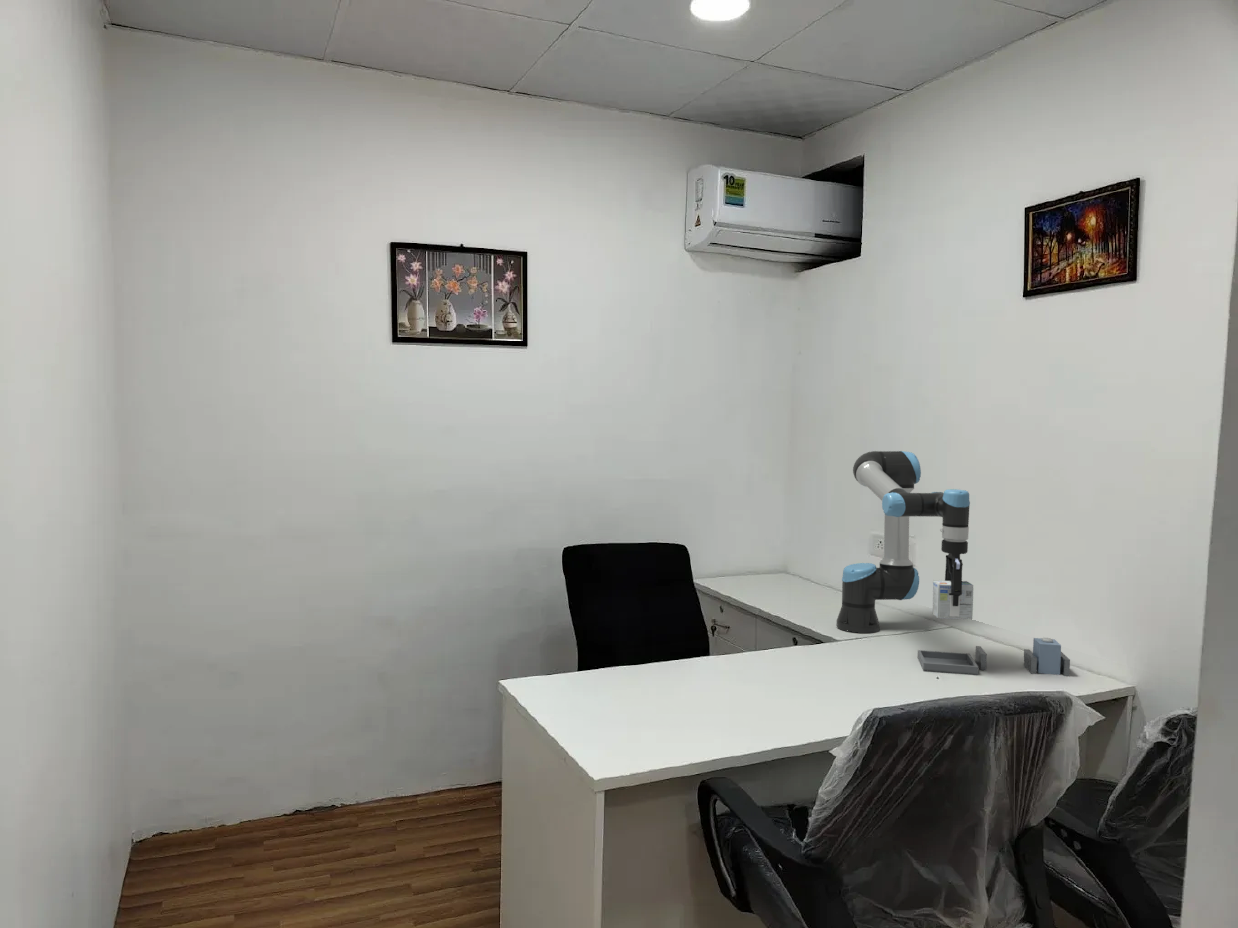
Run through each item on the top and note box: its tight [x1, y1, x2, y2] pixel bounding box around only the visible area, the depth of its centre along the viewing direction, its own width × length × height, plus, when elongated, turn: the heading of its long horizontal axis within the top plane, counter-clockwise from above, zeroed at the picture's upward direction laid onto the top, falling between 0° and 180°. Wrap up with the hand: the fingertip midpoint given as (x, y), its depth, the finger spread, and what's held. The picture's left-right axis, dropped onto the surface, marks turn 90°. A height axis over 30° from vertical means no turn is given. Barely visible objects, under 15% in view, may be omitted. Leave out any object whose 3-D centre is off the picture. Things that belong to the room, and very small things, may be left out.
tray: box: [916, 649, 979, 676], centre depth 261 cm, size 15×16×2 cm
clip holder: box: [974, 645, 1071, 677], centre depth 259 cm, size 9×25×5 cm, turn 77°
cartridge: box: [1032, 637, 1062, 675], centre depth 258 cm, size 7×6×10 cm
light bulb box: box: [932, 579, 974, 620], centre depth 260 cm, size 11×7×11 cm, turn 85°
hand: (952, 612), depth 261 cm, fingers closed on light bulb box, 7 cm apart
